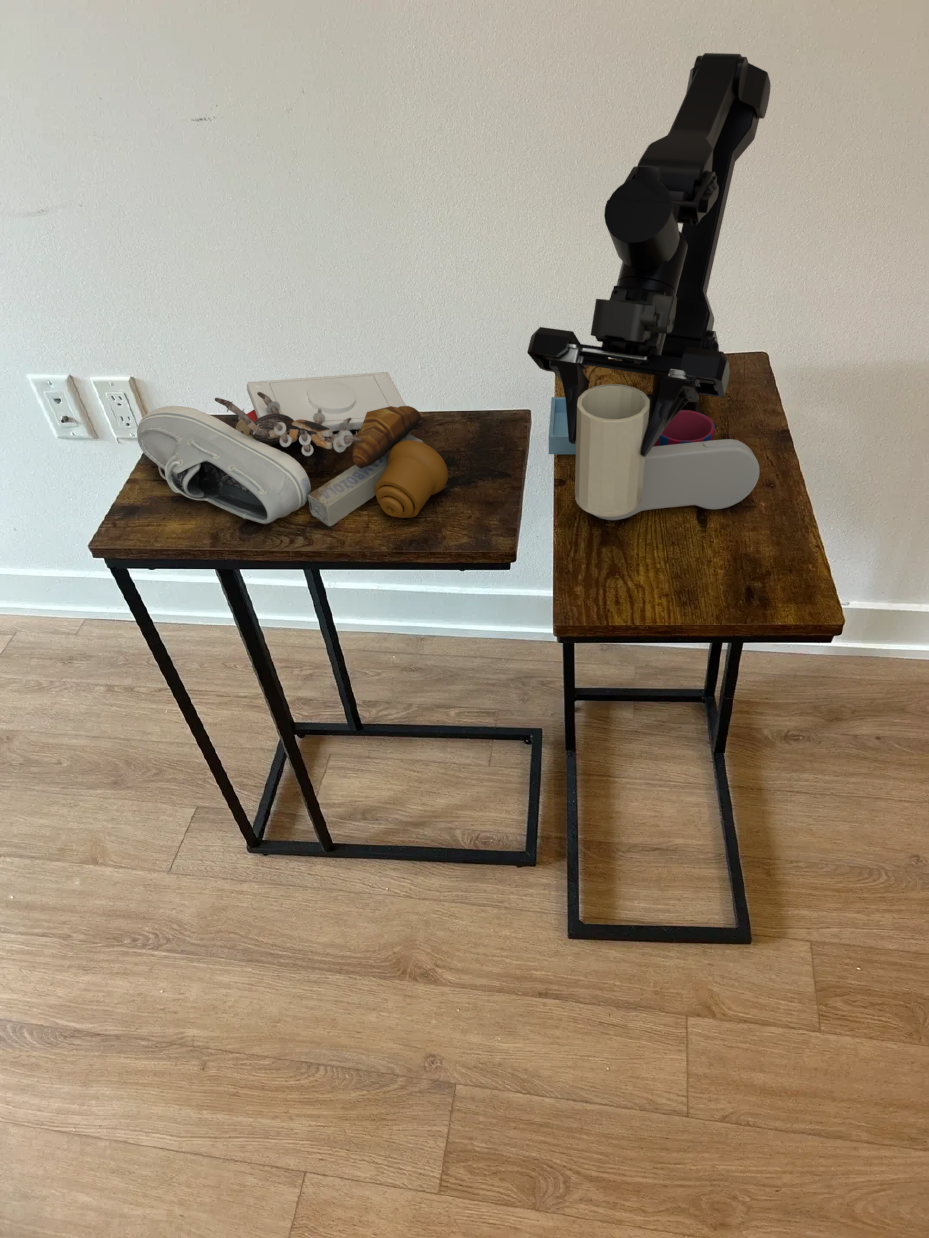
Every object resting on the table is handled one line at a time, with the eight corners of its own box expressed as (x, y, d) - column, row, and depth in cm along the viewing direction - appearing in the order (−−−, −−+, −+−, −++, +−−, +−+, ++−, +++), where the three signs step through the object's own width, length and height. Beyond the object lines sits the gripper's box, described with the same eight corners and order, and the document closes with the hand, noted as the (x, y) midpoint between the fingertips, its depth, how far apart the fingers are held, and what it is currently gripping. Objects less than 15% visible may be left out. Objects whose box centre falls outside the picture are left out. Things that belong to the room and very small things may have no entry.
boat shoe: (156, 444, 113) (105, 474, 107) (150, 383, 107) (96, 410, 101) (313, 527, 107) (268, 563, 101) (317, 467, 101) (269, 501, 95)
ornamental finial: (384, 435, 102) (436, 436, 98) (410, 483, 107) (460, 486, 103) (349, 483, 98) (402, 486, 94) (378, 530, 104) (429, 535, 99)
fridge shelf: (551, 414, 115) (551, 397, 114) (622, 414, 114) (624, 396, 113) (548, 454, 109) (548, 436, 107) (624, 455, 108) (625, 436, 106)
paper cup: (593, 471, 94) (596, 378, 86) (651, 488, 91) (661, 393, 84) (563, 505, 90) (565, 411, 82) (624, 524, 87) (631, 428, 80)
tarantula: (395, 426, 110) (386, 465, 112) (266, 388, 112) (260, 426, 114) (351, 440, 95) (342, 485, 97) (204, 396, 97) (197, 440, 99)
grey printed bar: (296, 489, 101) (325, 507, 99) (395, 424, 109) (424, 440, 107) (300, 512, 104) (329, 531, 101) (397, 448, 112) (426, 464, 109)
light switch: (246, 375, 114) (389, 365, 121) (246, 388, 115) (387, 378, 122) (265, 424, 108) (414, 411, 115) (265, 438, 109) (412, 424, 116)
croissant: (404, 436, 111) (379, 404, 110) (438, 408, 106) (412, 374, 105) (348, 485, 101) (319, 451, 100) (382, 458, 97) (352, 421, 95)
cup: (656, 495, 102) (661, 444, 97) (637, 447, 109) (641, 398, 104) (714, 489, 102) (722, 438, 97) (691, 441, 109) (698, 392, 104)
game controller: (747, 494, 101) (759, 431, 95) (753, 506, 99) (766, 443, 93) (577, 512, 100) (579, 450, 95) (581, 524, 99) (583, 462, 93)
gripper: (532, 243, 80) (491, 412, 81) (742, 265, 74) (696, 447, 74) (560, 291, 90) (524, 440, 91) (746, 313, 84) (705, 473, 85)
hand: (606, 449), depth 85 cm, fingers closed on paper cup, 7 cm apart
